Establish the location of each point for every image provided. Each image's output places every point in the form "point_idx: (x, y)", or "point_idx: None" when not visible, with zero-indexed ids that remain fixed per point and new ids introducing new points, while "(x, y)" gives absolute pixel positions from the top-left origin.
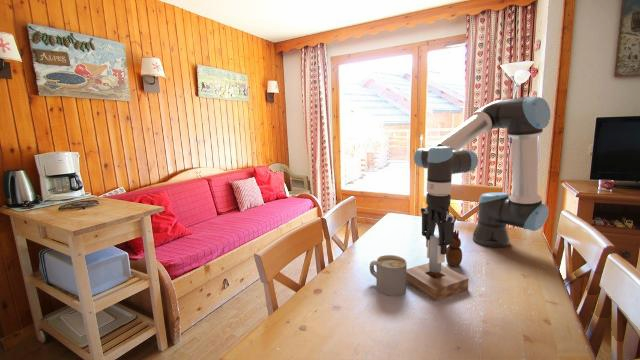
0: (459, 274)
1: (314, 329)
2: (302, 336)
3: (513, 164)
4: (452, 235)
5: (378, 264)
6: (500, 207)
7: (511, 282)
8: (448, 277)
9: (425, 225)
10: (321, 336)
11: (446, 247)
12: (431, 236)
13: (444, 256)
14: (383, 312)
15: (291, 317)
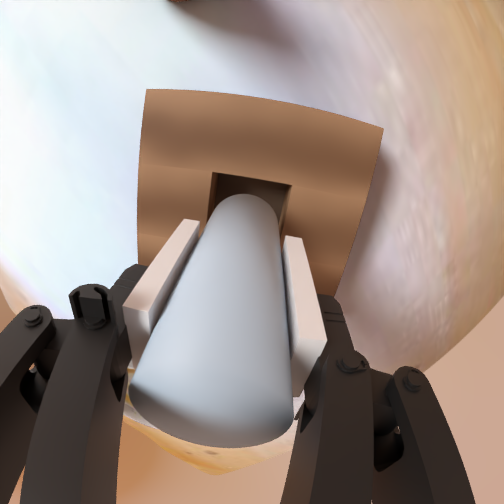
0: (332, 118)
1: (223, 450)
2: (227, 457)
3: None
4: (453, 466)
5: (151, 425)
6: None
7: None
8: (312, 193)
9: (18, 450)
10: (241, 451)
11: (349, 342)
12: (171, 429)
13: (306, 263)
14: None
15: (181, 449)
